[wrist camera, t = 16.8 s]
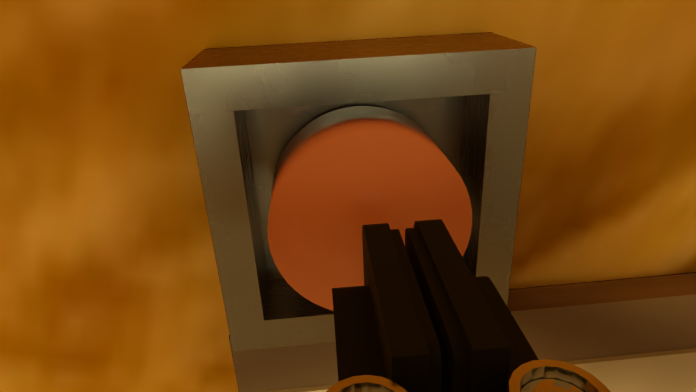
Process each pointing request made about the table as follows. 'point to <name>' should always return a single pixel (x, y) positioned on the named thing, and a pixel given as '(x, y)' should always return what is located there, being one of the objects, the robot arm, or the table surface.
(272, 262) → the button housing
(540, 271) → the table surface
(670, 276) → the board
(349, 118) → the button
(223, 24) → the table surface
